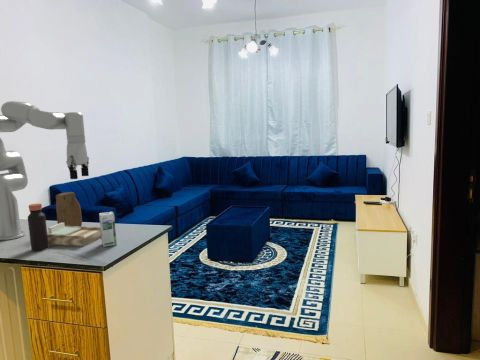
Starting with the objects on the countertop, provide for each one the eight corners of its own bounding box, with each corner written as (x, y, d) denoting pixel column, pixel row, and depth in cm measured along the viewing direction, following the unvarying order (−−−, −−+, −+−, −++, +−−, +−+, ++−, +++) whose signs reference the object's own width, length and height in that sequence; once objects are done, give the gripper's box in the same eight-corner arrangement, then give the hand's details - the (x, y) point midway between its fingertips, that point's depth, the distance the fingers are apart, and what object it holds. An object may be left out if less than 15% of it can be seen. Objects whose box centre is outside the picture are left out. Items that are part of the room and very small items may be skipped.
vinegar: (31, 252, 160) (26, 207, 157) (31, 248, 165) (26, 204, 163) (49, 249, 163) (44, 204, 160) (48, 245, 169) (43, 202, 166)
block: (64, 234, 186) (60, 195, 183) (57, 232, 191) (52, 193, 188) (84, 229, 194) (80, 191, 191) (77, 227, 199) (73, 190, 196)
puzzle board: (41, 244, 170) (40, 234, 170) (64, 234, 185) (63, 225, 184) (83, 246, 165) (82, 236, 165) (103, 236, 180) (102, 227, 179)
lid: (44, 235, 171) (43, 228, 171) (62, 228, 182) (61, 221, 182) (65, 236, 169) (64, 229, 168) (81, 229, 180) (80, 222, 179)
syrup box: (103, 247, 163) (100, 215, 161) (101, 243, 168) (98, 212, 166) (116, 245, 166) (114, 213, 164) (114, 241, 171) (112, 210, 169)
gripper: (78, 139, 176) (81, 175, 179) (57, 141, 159) (61, 180, 162) (93, 139, 176) (96, 174, 178) (73, 140, 159) (77, 180, 161)
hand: (79, 177), depth 170 cm, fingers open, 9 cm apart
